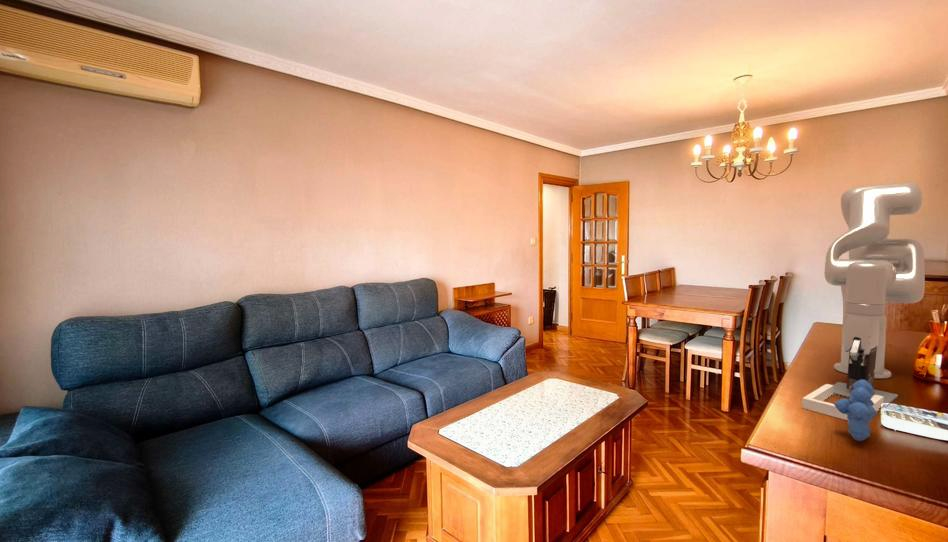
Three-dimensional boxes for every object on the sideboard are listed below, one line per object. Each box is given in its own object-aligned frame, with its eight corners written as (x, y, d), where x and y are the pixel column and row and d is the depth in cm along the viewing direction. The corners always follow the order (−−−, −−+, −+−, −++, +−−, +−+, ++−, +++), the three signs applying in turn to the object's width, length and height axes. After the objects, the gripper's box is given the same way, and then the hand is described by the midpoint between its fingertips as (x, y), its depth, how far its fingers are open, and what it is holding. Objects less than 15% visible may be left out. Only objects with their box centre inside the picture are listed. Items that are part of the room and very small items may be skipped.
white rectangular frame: (826, 392, 108) (826, 383, 108) (883, 406, 99) (883, 396, 99) (801, 408, 99) (802, 398, 99) (862, 424, 90) (862, 413, 90)
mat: (838, 383, 115) (838, 381, 115) (898, 396, 105) (898, 394, 105) (824, 391, 109) (824, 390, 109) (886, 406, 99) (886, 404, 99)
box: (868, 394, 104) (871, 348, 103) (845, 389, 107) (847, 345, 106) (875, 389, 107) (877, 344, 106) (853, 384, 111) (854, 341, 110)
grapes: (836, 421, 92) (839, 370, 91) (878, 431, 87) (881, 377, 86) (828, 439, 84) (830, 383, 83) (873, 451, 79) (876, 391, 78)
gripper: (855, 303, 113) (852, 366, 115) (834, 311, 104) (831, 379, 105) (893, 307, 107) (890, 373, 108) (874, 316, 98) (870, 388, 99)
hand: (861, 376), depth 107 cm, fingers closed on box, 5 cm apart
